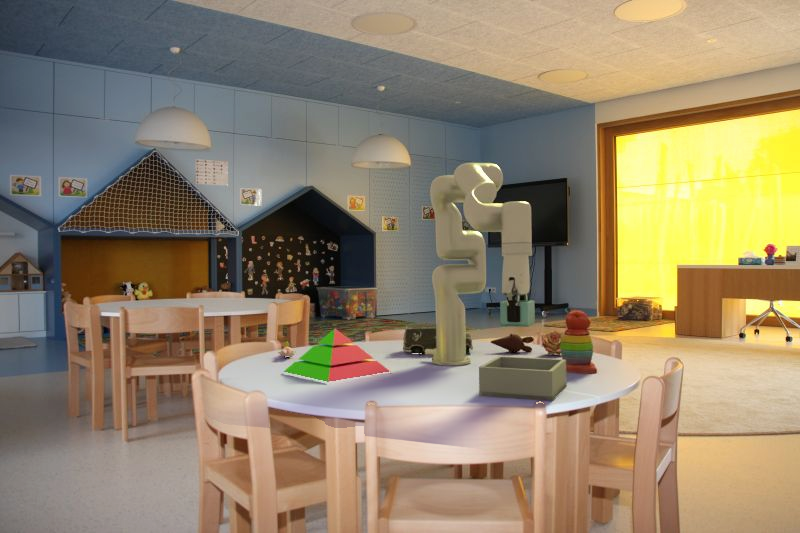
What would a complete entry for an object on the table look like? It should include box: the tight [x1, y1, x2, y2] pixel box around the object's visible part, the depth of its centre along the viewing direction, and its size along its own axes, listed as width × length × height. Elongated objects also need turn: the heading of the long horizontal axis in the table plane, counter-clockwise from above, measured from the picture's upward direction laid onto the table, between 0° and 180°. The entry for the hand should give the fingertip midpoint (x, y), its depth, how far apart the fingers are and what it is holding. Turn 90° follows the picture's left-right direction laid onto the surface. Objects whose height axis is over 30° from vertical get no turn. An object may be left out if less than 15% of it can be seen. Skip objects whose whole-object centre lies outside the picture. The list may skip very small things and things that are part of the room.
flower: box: [540, 329, 564, 356], centre depth 222 cm, size 10×9×8 cm
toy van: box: [402, 323, 474, 355], centre depth 232 cm, size 11×25×10 cm, turn 87°
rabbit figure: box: [277, 341, 297, 357], centre depth 226 cm, size 6×6×15 cm
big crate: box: [478, 355, 567, 402], centre depth 165 cm, size 18×18×7 cm
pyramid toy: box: [283, 328, 390, 382], centre depth 193 cm, size 25×25×14 cm
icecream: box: [490, 333, 535, 354], centre depth 228 cm, size 7×7×15 cm
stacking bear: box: [560, 309, 598, 374], centre depth 192 cm, size 11×10×18 cm
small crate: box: [499, 300, 536, 328], centre depth 165 cm, size 7×7×6 cm
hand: (517, 319), depth 165 cm, fingers closed on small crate, 7 cm apart
